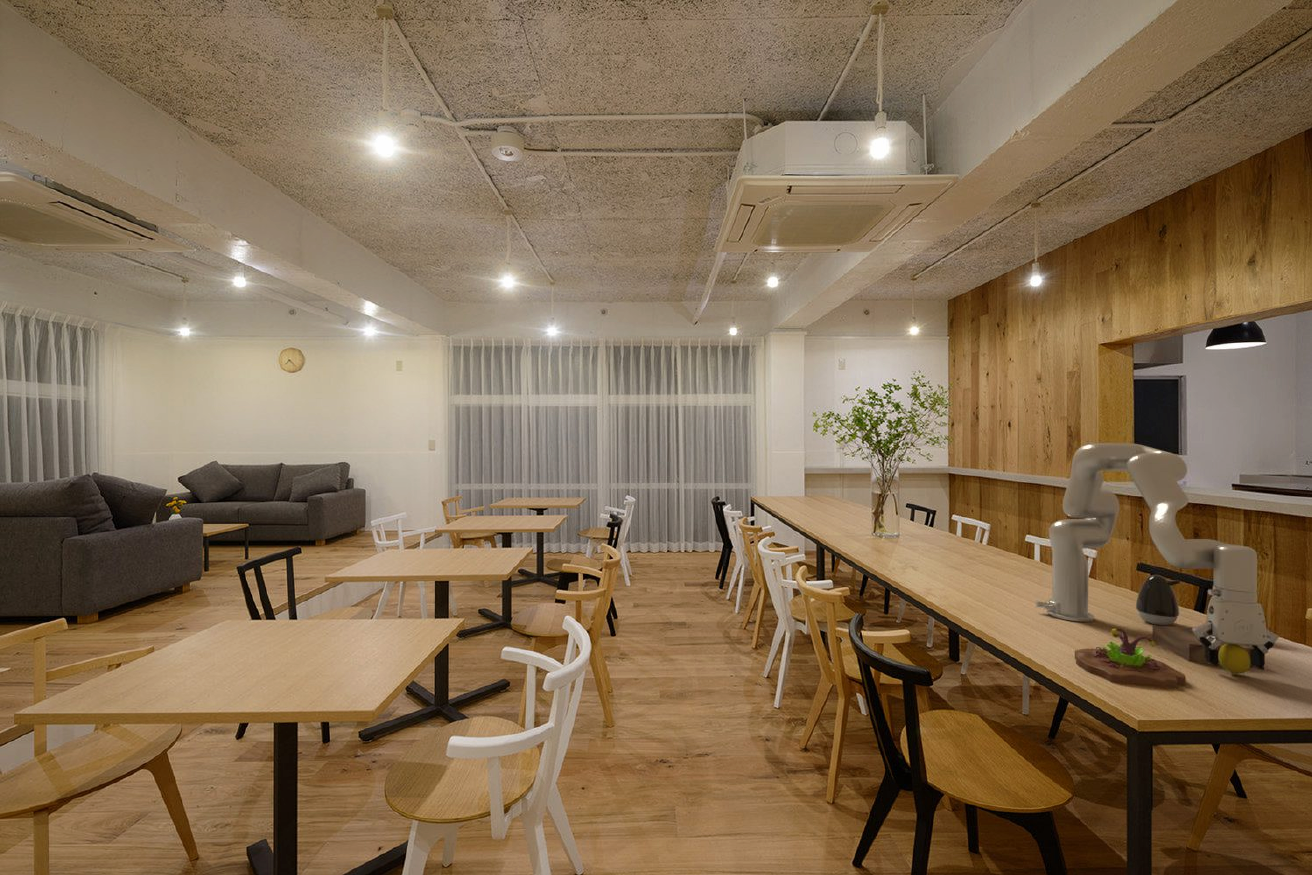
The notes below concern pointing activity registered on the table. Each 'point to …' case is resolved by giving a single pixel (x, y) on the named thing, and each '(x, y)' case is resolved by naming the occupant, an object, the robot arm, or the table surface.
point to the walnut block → (1184, 643)
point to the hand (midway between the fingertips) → (1234, 665)
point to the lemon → (1234, 658)
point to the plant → (1128, 664)
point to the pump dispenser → (1158, 601)
